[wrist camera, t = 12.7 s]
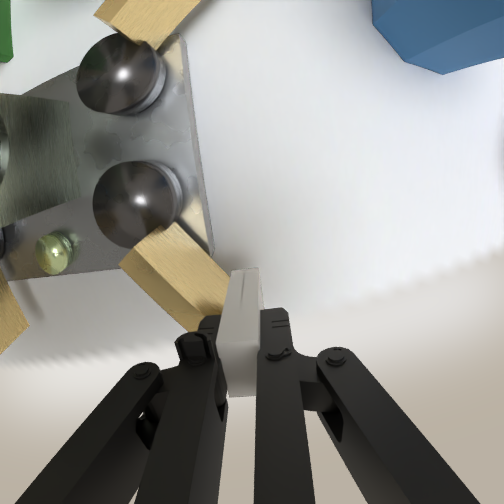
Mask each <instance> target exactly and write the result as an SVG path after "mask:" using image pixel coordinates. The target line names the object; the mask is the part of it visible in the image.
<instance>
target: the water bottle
mask: <svg viewBox="0 0 504 504" xmlns="http://www.w3.org/2000/svg"><path fill="white" fill-rule="evenodd" d="M372 17H373V25H374V27H375V28H376V29H377V30H378V31H379V32H380V33H381V34H382V35H383V37H384V38H385V39H386V40H387V41H388V42H389V43H390V45H391V46H392V47H393V48H394V49H395V51H396V52H397V53H398V54H399V56H400V57H401V58H402V59H403V61H404V62H407V63H410V64H414V65H417V66H420V67H423V68H426V69H428V70H431V71H434V72H437V73H439V74H442V75H444V74H447V73H450V72H453V71H457V70H460V69H463V68H467V67H470V66H474V65H477V64H481V63H485V62H489V61H493V60H497V59H501V58H504V0H372Z"/></svg>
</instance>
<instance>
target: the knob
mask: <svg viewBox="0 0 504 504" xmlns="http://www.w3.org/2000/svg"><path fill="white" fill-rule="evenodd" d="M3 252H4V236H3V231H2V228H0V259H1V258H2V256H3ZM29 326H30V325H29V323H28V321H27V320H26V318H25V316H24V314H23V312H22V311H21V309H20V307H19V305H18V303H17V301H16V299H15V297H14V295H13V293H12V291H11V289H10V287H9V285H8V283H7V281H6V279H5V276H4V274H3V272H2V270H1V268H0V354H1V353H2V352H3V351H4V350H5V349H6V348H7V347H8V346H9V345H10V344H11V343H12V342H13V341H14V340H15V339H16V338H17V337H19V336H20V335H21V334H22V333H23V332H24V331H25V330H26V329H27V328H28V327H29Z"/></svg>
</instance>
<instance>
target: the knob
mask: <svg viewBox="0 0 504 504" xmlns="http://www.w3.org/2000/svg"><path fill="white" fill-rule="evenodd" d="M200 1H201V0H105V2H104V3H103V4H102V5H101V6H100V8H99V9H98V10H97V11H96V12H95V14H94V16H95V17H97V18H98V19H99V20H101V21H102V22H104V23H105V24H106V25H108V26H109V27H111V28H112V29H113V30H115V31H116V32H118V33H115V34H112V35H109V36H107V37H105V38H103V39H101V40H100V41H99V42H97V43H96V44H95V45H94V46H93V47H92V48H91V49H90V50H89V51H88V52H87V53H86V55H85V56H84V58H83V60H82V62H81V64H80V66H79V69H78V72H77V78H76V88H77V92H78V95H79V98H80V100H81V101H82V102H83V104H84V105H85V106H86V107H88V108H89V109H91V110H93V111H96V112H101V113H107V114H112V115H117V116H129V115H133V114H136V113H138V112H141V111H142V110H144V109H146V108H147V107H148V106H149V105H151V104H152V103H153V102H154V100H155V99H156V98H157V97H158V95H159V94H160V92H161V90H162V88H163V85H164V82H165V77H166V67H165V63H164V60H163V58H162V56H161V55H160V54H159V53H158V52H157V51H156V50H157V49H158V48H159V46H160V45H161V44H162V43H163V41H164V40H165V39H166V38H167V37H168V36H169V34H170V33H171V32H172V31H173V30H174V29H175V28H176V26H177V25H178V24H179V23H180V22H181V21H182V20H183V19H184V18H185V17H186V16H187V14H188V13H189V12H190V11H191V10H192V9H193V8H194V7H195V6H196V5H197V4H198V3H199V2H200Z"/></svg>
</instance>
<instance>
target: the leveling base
mask: <svg viewBox="0 0 504 504" xmlns="http://www.w3.org/2000/svg"><path fill="white" fill-rule="evenodd" d="M156 51H157V52H158V53H159V54H160V55H161V56H162V58H163V60H164V63H165V67H166V77H165V82H164V85H163V88H162V90H161V92H160V94H159V95H158V97H157V98H156V99H155V100H154V102H153V103H152V104H151V105H149V106H148V107H147V108H146V109H144V110H142V111H141V112H138V113H136V114H133V115H129V116H117V115H112V114H107V113H101V112H96V111H93V110H91V109H89V108H88V107H86V106H85V105H84V104H83V102H82V101H81V100H80V98H79V95H78V92H77V88H76V78H77V72H78V69H79V66H78V67H76V68H74V69H71V70H69V71H67V72H65V73H63V74H61V75H58V76H56V77H54V78H52V79H50V80H48V81H46V82H44V83H42V84H41V85H39V86H37V87H35V88H33V89H31V90H29V91H28V92H26V93H24V94H22V95H14V94H4V93H0V228H2V231H3V236H4V252H3V256H2V258H1V259H0V268H1V270H2V272H3V274H4V276H5V279H6V281H13V280H22V279H31V278H40V277H49V276H58V275H67V274H76V273H85V272H94V271H103V270H111V269H120V268H121V267H120V266H119V265H118V264H119V263H120V262H121V261H122V259H123V258H124V257H125V256H126V255H127V254H128V253H129V252H130V251H131V249H127V248H123V247H120V246H118V245H116V244H114V243H113V242H111V241H110V240H109V239H108V238H107V237H106V236H105V235H104V234H103V233H102V232H101V230H100V229H99V227H98V225H97V223H96V220H95V217H94V213H93V206H92V201H93V194H94V190H95V187H96V184H97V182H98V180H99V179H100V177H101V176H102V175H103V174H104V173H105V172H106V171H107V170H108V169H109V168H111V167H112V166H114V165H116V164H118V163H122V162H128V161H136V160H154V161H157V162H160V163H162V164H164V165H165V166H167V167H168V168H169V169H170V170H171V171H172V172H173V173H174V174H175V176H176V177H177V179H178V181H179V183H180V186H181V189H182V194H183V205H182V210H181V213H180V216H179V218H178V220H177V221H176V223H177V224H178V225H179V226H180V227H181V228H182V229H183V230H184V231H185V232H186V233H187V234H188V235H189V236H190V237H191V238H192V239H193V240H194V241H195V242H196V243H197V244H198V245H199V246H200V247H201V248H202V250H203V251H204V252H205V253H206V254H207V255H208V256H209V257H210V258H211V256H212V254H213V252H214V249H215V247H214V241H213V235H212V229H211V223H210V217H209V210H208V204H207V198H206V192H205V185H204V178H203V172H202V165H201V158H200V151H199V144H198V137H197V130H196V122H195V115H194V107H193V99H192V91H191V83H190V74H189V65H188V57H187V47H186V42H185V41H184V39H183V38H182V37H181V35H180V34H179V33H178V34H174V35H170V36H168V37H167V38H166V39H165V40H164V41H163V43H162V44H161V45H160V46H159V48H158V49H157V50H156Z"/></svg>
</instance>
